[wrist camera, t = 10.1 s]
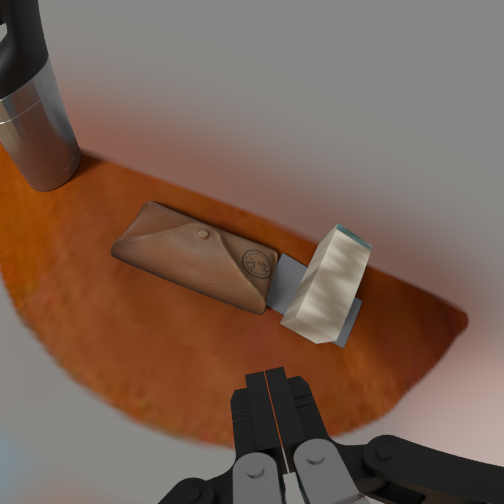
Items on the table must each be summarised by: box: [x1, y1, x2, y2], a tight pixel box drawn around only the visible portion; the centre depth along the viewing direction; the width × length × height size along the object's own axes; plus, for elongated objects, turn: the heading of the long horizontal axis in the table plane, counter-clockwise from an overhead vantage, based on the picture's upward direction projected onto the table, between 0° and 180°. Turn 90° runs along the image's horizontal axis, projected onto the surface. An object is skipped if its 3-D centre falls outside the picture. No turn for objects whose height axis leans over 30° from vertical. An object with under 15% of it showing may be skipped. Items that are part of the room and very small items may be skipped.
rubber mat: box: [266, 253, 362, 348], centre depth 34 cm, size 12×6×1 cm, turn 61°
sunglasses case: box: [111, 201, 278, 315], centre depth 31 cm, size 18×7×7 cm, turn 72°
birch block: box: [280, 224, 372, 344], centre depth 32 cm, size 5×5×12 cm
